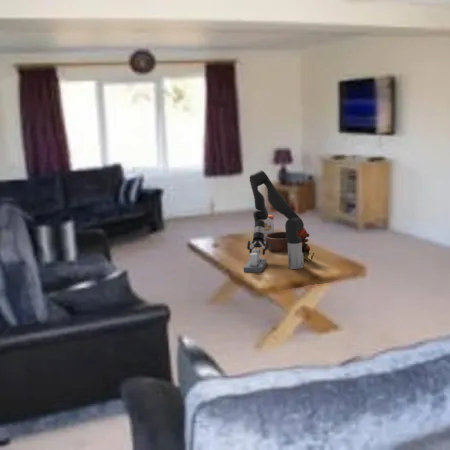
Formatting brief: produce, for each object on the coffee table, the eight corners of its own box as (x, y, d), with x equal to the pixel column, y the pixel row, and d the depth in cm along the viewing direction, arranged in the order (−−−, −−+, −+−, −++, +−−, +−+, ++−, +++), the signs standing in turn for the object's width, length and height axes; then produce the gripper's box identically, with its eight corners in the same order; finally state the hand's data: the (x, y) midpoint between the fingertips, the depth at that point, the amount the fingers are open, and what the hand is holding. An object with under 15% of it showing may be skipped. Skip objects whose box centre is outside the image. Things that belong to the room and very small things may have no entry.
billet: (254, 264, 456) (253, 248, 454) (260, 264, 455) (260, 248, 453) (253, 266, 452) (252, 250, 450) (259, 266, 451) (259, 250, 449)
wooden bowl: (299, 244, 508) (298, 231, 506) (299, 252, 483) (298, 238, 481) (266, 245, 510) (265, 232, 508) (264, 253, 486) (264, 239, 484)
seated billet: (251, 268, 445) (250, 252, 443) (258, 268, 444) (257, 252, 442) (250, 270, 441) (249, 254, 439) (256, 270, 440) (256, 254, 438)
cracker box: (257, 244, 515) (256, 217, 511) (255, 242, 521) (254, 216, 517) (274, 242, 519) (273, 215, 515) (272, 240, 525) (271, 214, 521)
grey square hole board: (249, 263, 460) (249, 259, 459) (266, 263, 457) (266, 259, 457) (243, 271, 439) (243, 267, 438) (261, 271, 436) (261, 267, 436)
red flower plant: (320, 258, 456) (311, 224, 449) (297, 266, 454) (288, 233, 447) (312, 252, 471) (303, 219, 464) (290, 260, 468) (281, 228, 461)
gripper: (248, 231, 462) (245, 251, 454) (268, 231, 459) (266, 251, 451) (249, 237, 468) (247, 257, 460) (269, 237, 465) (268, 257, 457)
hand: (257, 254), depth 455 cm, fingers open, 8 cm apart
